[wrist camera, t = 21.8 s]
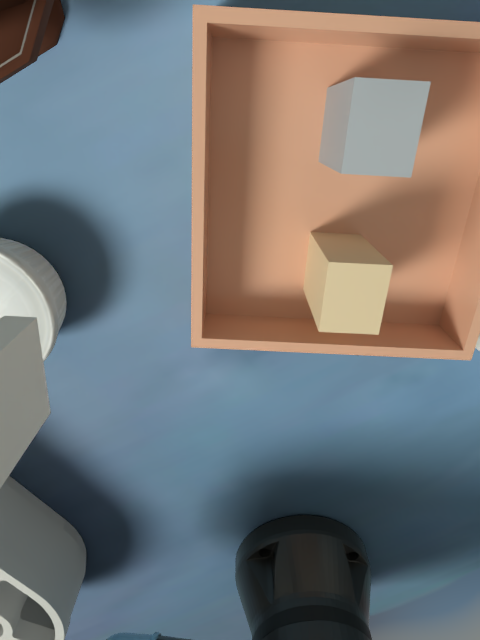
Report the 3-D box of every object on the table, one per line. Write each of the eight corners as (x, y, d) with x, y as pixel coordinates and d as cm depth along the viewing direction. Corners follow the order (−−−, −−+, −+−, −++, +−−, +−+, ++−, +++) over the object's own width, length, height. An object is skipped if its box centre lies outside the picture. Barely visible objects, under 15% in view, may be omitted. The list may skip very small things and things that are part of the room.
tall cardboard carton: (351, 291, 36) (378, 334, 29) (303, 289, 36) (318, 331, 29) (360, 234, 34) (392, 265, 27) (310, 231, 34) (328, 261, 27)
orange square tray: (443, 331, 38) (471, 360, 33) (197, 320, 38) (191, 347, 33) (523, 42, 29) (575, 27, 24) (200, 23, 29) (192, 4, 24)
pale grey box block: (372, 164, 32) (411, 177, 25) (318, 161, 32) (341, 173, 25) (384, 91, 30) (430, 81, 23) (327, 87, 30) (354, 77, 23)
